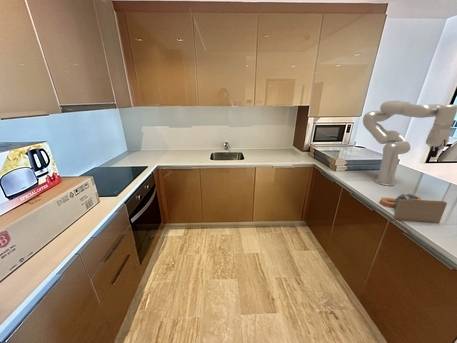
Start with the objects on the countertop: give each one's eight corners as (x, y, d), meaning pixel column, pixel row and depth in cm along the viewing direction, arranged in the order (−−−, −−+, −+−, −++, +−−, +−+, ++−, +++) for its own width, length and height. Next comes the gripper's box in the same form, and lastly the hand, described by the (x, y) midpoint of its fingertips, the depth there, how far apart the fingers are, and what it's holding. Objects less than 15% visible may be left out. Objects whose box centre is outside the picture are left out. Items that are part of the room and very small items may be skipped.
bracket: (413, 204, 119) (416, 194, 116) (419, 211, 112) (423, 201, 109) (378, 200, 125) (380, 191, 123) (382, 206, 118) (385, 196, 116)
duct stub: (383, 208, 116) (388, 190, 112) (422, 210, 112) (429, 192, 108) (395, 220, 105) (401, 200, 101) (439, 223, 101) (447, 203, 97)
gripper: (425, 125, 121) (416, 153, 127) (443, 128, 107) (433, 160, 113) (440, 125, 119) (430, 153, 125) (460, 128, 105) (449, 160, 111)
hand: (431, 156), depth 119 cm, fingers closed
